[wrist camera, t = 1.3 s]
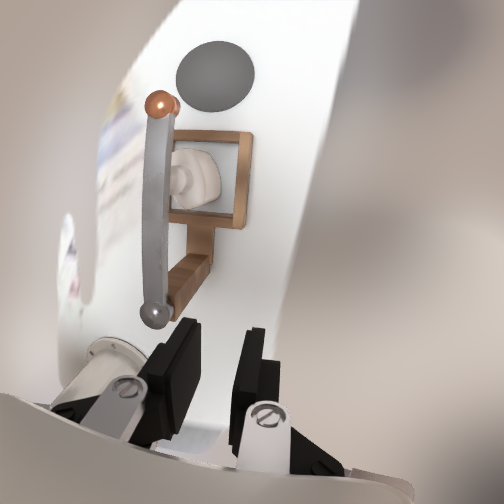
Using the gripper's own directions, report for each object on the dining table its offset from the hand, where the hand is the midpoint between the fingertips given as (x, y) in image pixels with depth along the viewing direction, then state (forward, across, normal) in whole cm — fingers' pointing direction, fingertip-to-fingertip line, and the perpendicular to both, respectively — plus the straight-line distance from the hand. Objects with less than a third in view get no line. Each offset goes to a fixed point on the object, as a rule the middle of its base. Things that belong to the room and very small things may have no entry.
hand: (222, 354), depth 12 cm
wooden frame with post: (+23, +7, -3) cm, 24 cm away
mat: (+23, +7, -18) cm, 30 cm away
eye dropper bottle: (+23, +7, -6) cm, 25 cm away
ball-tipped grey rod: (+10, +7, -4) cm, 13 cm away
